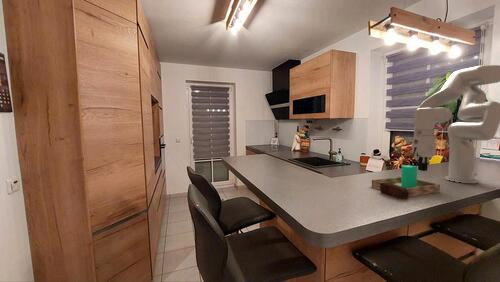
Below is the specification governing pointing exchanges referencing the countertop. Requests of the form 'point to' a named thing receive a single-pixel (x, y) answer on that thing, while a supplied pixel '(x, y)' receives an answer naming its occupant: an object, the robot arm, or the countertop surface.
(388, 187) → the brick
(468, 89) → the robot arm
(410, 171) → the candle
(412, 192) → the tray
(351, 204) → the countertop surface
